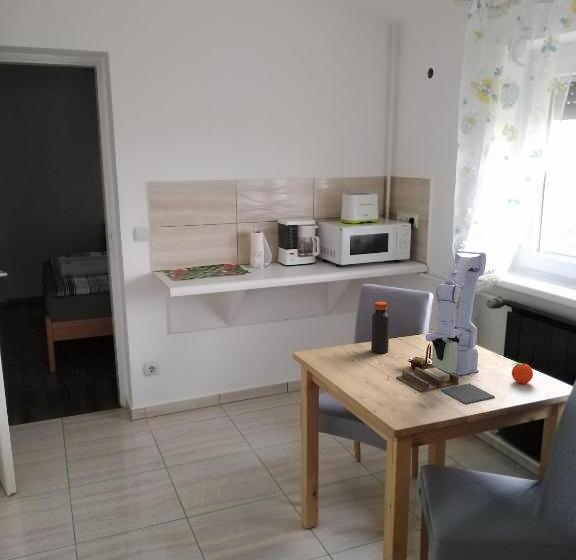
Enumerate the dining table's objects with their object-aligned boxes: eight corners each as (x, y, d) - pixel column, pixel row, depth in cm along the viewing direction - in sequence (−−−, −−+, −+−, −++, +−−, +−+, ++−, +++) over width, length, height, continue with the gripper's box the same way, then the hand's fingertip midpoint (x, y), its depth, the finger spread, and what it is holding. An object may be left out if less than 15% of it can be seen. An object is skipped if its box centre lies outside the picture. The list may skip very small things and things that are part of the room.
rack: (432, 370, 218) (433, 364, 218) (458, 384, 206) (458, 377, 205) (396, 378, 212) (396, 371, 211) (420, 392, 199) (420, 384, 199)
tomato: (505, 383, 206) (507, 364, 204) (509, 377, 212) (511, 358, 210) (530, 388, 202) (532, 368, 200) (533, 381, 208) (535, 362, 206)
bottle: (380, 355, 235) (382, 306, 231) (367, 351, 240) (368, 302, 235) (391, 351, 239) (393, 303, 235) (378, 347, 244) (379, 300, 240)
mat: (469, 384, 205) (469, 383, 205) (494, 397, 195) (494, 396, 194) (441, 390, 200) (441, 389, 200) (465, 404, 190) (465, 402, 190)
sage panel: (439, 363, 206) (440, 335, 204) (456, 371, 198) (457, 342, 196) (431, 364, 205) (432, 336, 203) (448, 373, 197) (449, 343, 195)
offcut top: (435, 370, 215) (435, 367, 214) (449, 377, 208) (449, 374, 207) (423, 372, 213) (423, 369, 212) (437, 379, 206) (438, 377, 205)
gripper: (435, 325, 191) (433, 365, 194) (471, 320, 197) (469, 359, 200) (422, 320, 198) (420, 358, 201) (457, 314, 203) (455, 352, 206)
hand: (444, 358), depth 201 cm, fingers closed on sage panel, 3 cm apart
